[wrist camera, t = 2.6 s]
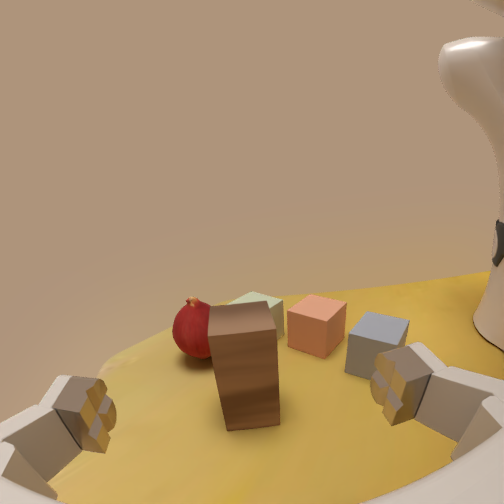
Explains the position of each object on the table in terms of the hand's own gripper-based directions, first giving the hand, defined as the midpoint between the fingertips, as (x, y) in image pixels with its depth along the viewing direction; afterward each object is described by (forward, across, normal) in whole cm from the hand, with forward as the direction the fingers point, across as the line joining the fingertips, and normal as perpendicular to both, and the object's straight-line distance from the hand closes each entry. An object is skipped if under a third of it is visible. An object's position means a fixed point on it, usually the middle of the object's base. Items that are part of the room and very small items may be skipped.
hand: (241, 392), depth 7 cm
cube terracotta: (+22, -9, +14) cm, 28 cm away
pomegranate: (+22, +4, +14) cm, 26 cm away
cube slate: (+15, -14, +14) cm, 25 cm away
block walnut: (+12, 0, +14) cm, 19 cm away
